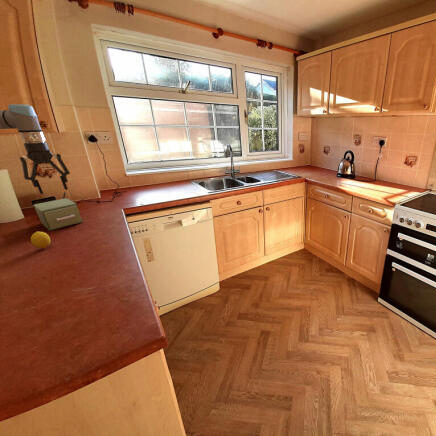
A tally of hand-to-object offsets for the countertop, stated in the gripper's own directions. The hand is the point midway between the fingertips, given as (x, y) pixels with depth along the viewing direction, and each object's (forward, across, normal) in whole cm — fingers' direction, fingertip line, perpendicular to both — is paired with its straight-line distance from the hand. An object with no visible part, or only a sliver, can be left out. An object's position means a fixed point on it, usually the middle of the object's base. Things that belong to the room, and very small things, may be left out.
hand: (54, 191), depth 117 cm
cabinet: (+19, 0, +12) cm, 23 cm away
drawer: (+18, 0, +7) cm, 20 cm away
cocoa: (+20, +4, +33) cm, 39 cm away
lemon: (+20, -13, -20) cm, 31 cm away
